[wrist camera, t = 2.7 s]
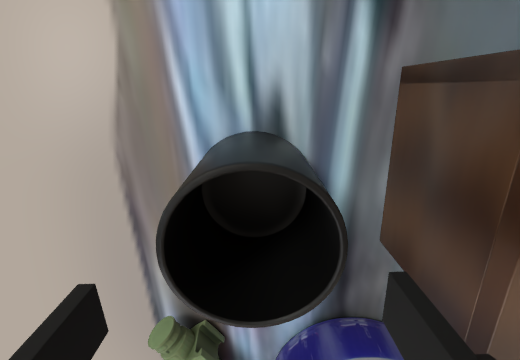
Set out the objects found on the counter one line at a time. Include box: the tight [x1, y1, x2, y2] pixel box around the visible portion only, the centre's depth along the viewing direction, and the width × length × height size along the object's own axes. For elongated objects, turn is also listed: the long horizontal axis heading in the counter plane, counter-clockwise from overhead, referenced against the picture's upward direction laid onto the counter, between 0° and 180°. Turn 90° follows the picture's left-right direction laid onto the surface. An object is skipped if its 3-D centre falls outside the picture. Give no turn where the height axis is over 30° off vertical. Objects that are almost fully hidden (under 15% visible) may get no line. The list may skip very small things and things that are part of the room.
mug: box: [156, 131, 348, 328], centre depth 18 cm, size 9×12×9 cm
